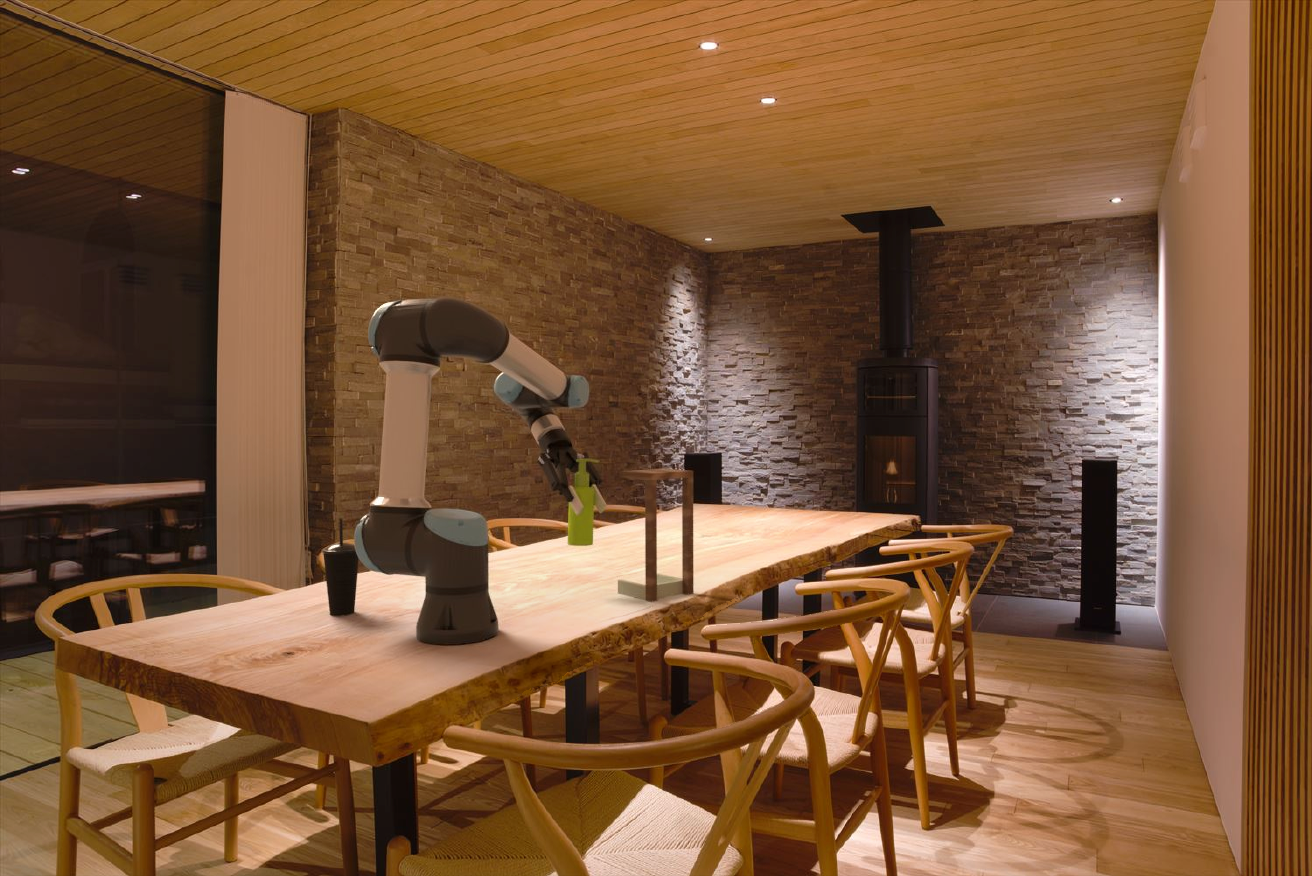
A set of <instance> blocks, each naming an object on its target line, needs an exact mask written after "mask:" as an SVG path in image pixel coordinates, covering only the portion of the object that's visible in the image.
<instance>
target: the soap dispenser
mask: <svg viewBox="0 0 1312 876" xmlns="http://www.w3.org/2000/svg"><path fill="white" fill-rule="evenodd" d="M587 461H589V462H591V463H595V464H596V463H597V464H598V463H600V460H598V459H595V458H589V459H576V462H579V472H577V473H574V486H573V488H574V490H575V492H576V494H577V495H578V497H579V499H580V501H581V503H582V505H583V506H584V508H583V509H582V511H581V512H580V514H579V515H576V514H575V512H574V510H573V508H572V506H571V504H570V502H568V516H567V519H568V520H567V524H568V525H567V545H569V546H575V547H588V546H593V545H594V518H595V517H594V514H595V513H594V512H595V511H594V510H595V504H594V488H591V487H589V473H587V472H586V462H587Z"/></svg>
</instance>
